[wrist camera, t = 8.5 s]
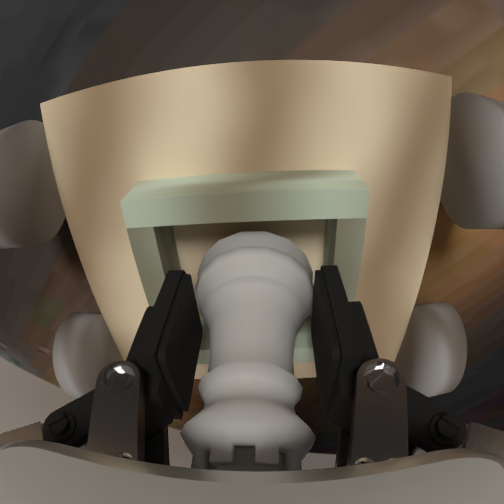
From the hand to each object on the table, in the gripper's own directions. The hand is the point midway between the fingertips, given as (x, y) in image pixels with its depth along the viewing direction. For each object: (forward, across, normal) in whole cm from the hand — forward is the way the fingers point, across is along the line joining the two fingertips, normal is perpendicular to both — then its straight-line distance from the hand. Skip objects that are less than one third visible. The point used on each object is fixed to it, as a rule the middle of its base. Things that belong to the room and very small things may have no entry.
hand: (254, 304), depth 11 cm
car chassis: (+4, 0, 0) cm, 4 cm away
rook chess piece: (+2, 0, 0) cm, 2 cm away
